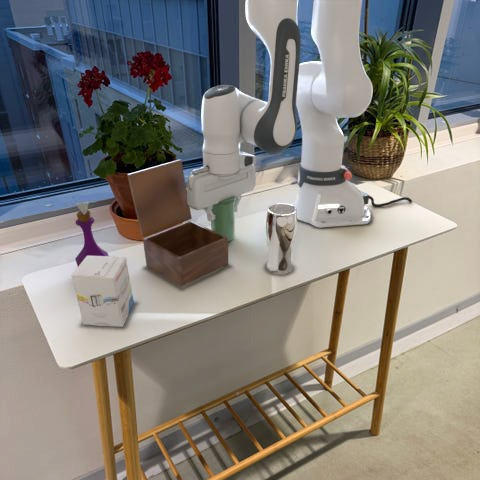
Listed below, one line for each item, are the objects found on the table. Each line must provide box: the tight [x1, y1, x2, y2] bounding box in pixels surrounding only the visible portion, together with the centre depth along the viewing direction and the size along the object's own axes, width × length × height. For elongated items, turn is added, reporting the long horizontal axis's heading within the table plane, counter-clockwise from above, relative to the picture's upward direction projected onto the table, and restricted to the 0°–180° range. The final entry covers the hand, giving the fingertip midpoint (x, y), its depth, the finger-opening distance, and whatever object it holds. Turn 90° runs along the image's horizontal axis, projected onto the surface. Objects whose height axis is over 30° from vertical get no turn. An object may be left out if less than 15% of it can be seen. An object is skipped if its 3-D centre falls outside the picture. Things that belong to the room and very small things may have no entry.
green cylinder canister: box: [210, 196, 236, 242], centre depth 124 cm, size 7×7×11 cm
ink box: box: [71, 255, 135, 328], centre depth 97 cm, size 9×8×12 cm
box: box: [142, 220, 229, 287], centre depth 114 cm, size 13×14×8 cm
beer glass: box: [265, 203, 298, 276], centre depth 112 cm, size 7×7×15 cm
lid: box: [126, 159, 193, 238], centre depth 112 cm, size 14×14×1 cm
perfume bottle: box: [74, 201, 110, 267], centre depth 109 cm, size 8×8×18 cm
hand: (222, 216), depth 123 cm, fingers closed on green cylinder canister, 6 cm apart
